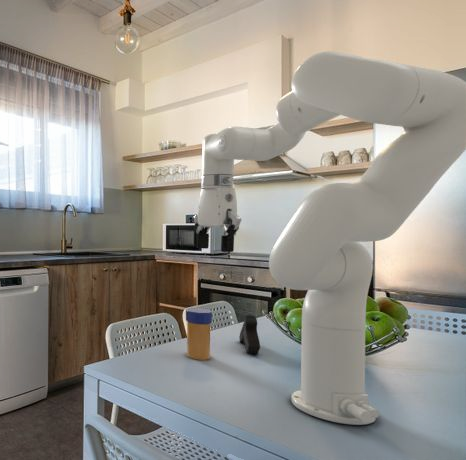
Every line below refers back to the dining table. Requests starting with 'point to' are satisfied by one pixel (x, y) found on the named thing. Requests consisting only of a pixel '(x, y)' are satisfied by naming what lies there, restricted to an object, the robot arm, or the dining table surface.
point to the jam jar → (198, 341)
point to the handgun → (250, 335)
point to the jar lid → (199, 315)
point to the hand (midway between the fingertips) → (214, 249)
